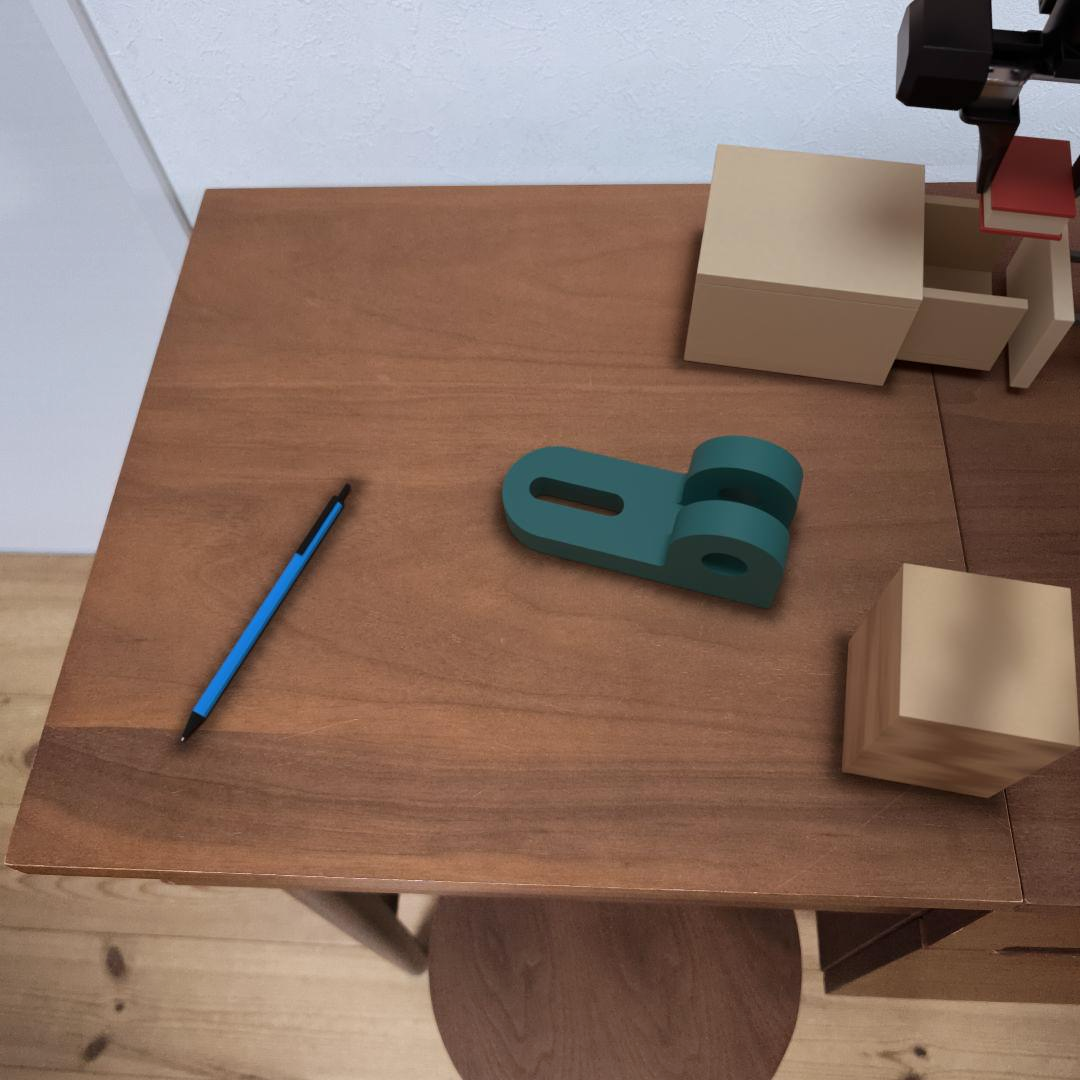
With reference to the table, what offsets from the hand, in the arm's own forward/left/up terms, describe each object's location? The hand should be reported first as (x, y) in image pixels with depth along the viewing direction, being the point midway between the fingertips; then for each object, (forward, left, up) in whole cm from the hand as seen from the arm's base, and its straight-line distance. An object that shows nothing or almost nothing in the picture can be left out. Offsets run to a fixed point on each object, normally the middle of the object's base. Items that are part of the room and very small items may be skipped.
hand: (1021, 192), depth 55 cm
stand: (+2, +29, -13) cm, 31 cm away
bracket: (+19, +19, -13) cm, 30 cm away
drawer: (-1, -1, -12) cm, 12 cm away
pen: (+41, +29, -13) cm, 52 cm away
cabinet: (+11, -1, -13) cm, 17 cm away
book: (0, 0, -1) cm, 0 cm away
